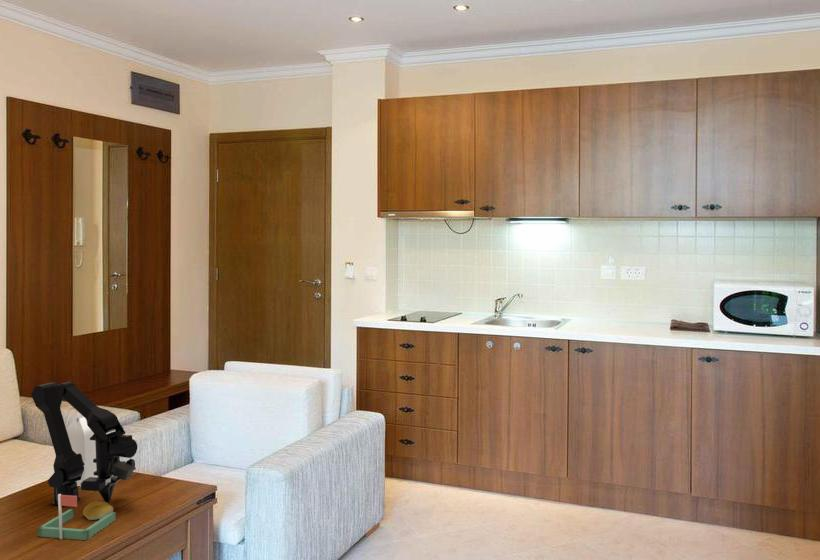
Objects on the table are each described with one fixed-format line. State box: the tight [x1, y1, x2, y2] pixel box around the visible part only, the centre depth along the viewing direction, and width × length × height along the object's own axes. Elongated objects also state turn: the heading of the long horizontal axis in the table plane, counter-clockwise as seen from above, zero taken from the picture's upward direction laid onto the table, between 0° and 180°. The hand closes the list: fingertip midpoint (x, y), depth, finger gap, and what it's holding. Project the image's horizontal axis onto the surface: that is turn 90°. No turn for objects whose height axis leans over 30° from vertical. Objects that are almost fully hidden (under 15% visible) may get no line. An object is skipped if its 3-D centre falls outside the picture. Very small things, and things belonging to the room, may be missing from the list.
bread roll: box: [82, 500, 114, 521], centre depth 220 cm, size 8×9×4 cm
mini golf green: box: [37, 494, 116, 541], centre depth 210 cm, size 15×15×13 cm
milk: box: [66, 411, 112, 488], centre depth 251 cm, size 12×12×26 cm
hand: (107, 502), depth 225 cm, fingers closed
